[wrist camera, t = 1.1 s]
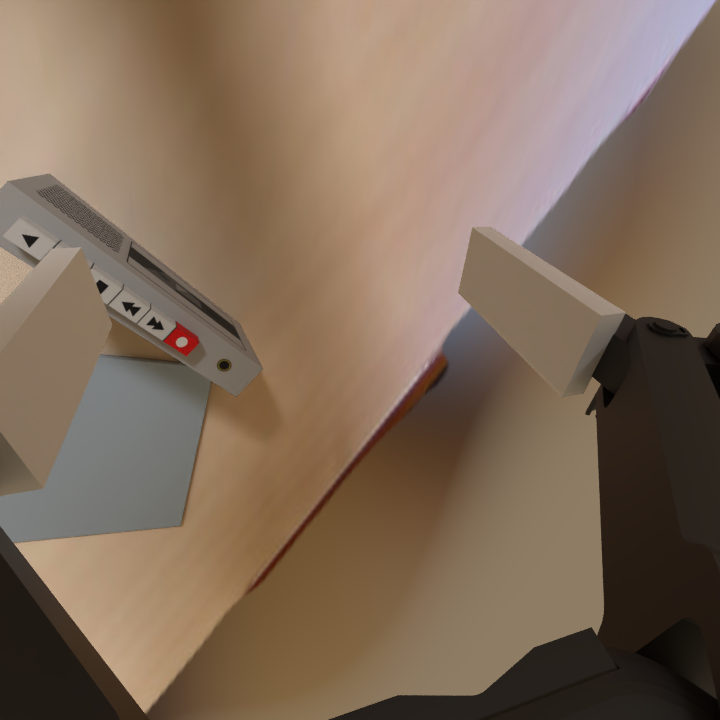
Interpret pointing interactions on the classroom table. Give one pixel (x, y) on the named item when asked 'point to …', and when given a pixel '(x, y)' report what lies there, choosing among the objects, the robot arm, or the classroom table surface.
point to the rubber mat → (118, 455)
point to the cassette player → (127, 280)
